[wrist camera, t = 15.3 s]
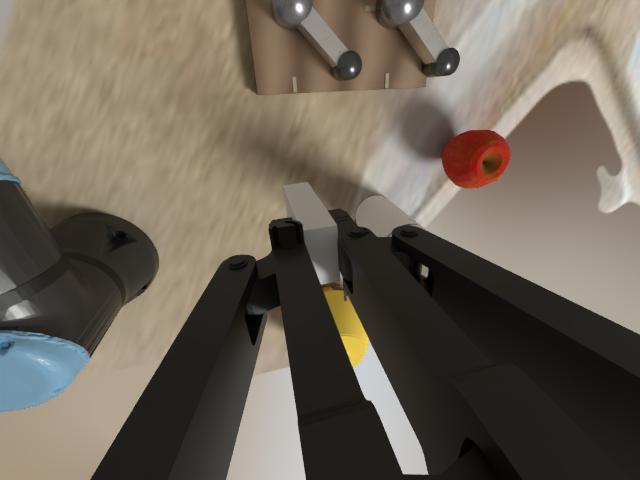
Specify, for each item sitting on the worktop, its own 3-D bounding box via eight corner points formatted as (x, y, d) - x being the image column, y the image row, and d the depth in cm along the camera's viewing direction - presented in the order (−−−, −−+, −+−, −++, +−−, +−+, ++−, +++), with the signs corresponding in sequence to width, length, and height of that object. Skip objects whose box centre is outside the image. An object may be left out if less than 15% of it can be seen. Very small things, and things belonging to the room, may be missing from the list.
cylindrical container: (357, 195, 48) (438, 277, 27) (395, 194, 50) (502, 272, 28) (353, 233, 52) (422, 333, 30) (389, 231, 53) (481, 325, 31)
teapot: (256, 306, 55) (255, 365, 43) (311, 253, 52) (327, 300, 40) (325, 347, 64) (340, 405, 52) (375, 303, 61) (404, 354, 49)
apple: (446, 185, 51) (489, 206, 41) (416, 158, 47) (455, 174, 38) (481, 145, 49) (534, 157, 39) (451, 114, 45) (503, 118, 36)
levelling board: (257, 94, 39) (257, 94, 35) (240, -42, 32) (238, -58, 29) (418, 87, 42) (432, 86, 39) (431, -37, 36) (449, -51, 32)
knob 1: (262, 7, 33) (263, -3, 29) (286, -28, 32) (290, -43, 28) (338, 90, 38) (346, 90, 35) (360, 63, 37) (371, 59, 34)
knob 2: (368, 8, 35) (380, -2, 31) (393, -26, 34) (409, -39, 30) (426, 86, 40) (442, 85, 37) (449, 60, 39) (468, 56, 36)
